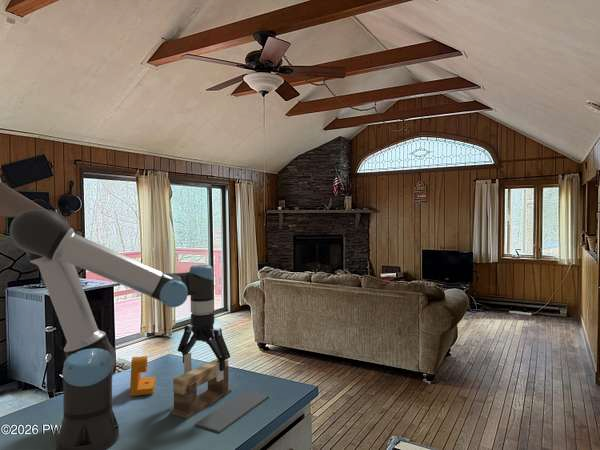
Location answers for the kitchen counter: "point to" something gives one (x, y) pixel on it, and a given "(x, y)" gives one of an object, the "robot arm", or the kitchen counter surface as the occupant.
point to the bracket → (200, 397)
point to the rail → (196, 377)
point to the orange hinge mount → (137, 383)
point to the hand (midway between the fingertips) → (203, 376)
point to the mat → (231, 411)
